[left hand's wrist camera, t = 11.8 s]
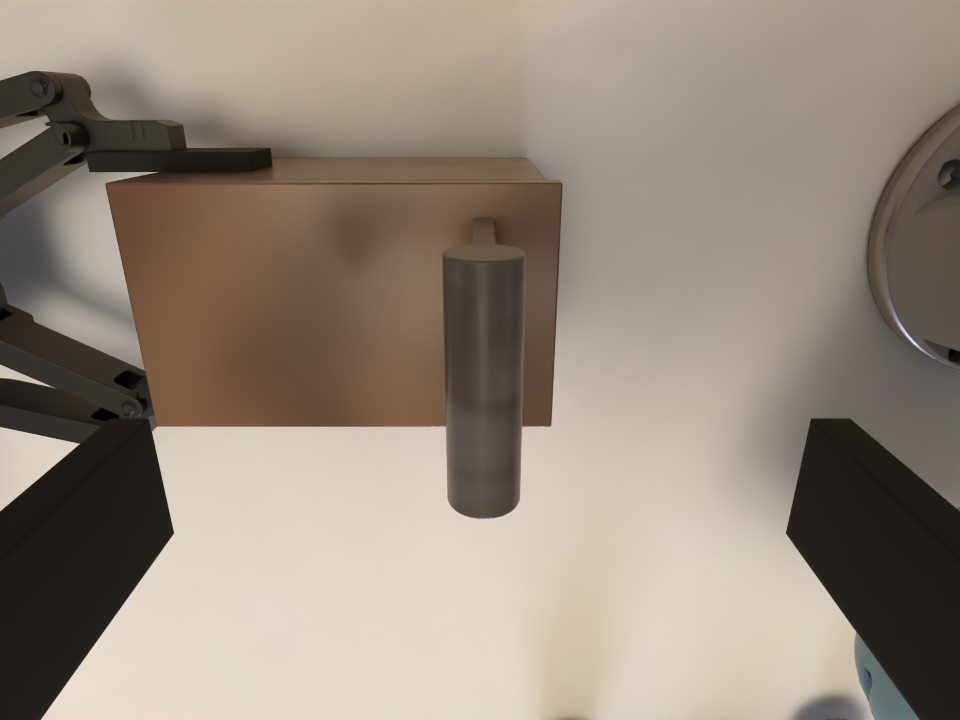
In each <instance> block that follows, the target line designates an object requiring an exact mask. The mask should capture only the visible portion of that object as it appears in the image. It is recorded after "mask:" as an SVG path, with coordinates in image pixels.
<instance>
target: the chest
mask: <svg viewBox="0 0 960 720" xmlns="http://www.w3.org/2000/svg"><path fill="white" fill-rule="evenodd" d="M272 165H273V166H269V167H266V168H262V169H258V170H255V171H163V172H158V173H153V174H148V175H143V176H138V177H133V178H128V179H123V180H546V179H545V178H544V176H543V175H542V174H541V173H540V172H539V171H538V170H537V169H536V168H535V166H534V165H533V164H532V163H531V162H530V161H529V160H528V159H527V158H272Z"/></svg>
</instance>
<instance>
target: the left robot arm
mask: <svg viewBox="0 0 960 720" xmlns="http://www.w3.org/2000/svg"><path fill="white" fill-rule="evenodd" d="M868 274H869V280H870V286H871V290H872V293H873V297H874V300H875V302H876V304H877V307H878V309H879V311H880V313H881V314H882V316H883V318H884V320H885V321H886V322H887V324H888V325H889V326H890V328H891V329H892V330H893V331H894V332H895V333H896V334H897V335H898V336H899V337H900V338H901V339H902V340H904V341H905V342H906V343H907V344H909V345H910V346H912V347H914V348H915V349H917V350H918V351H920V352H922V353H924V354H926V355H927V356H929V357H931V358H933V359H935V360H936V361H938V362H941V363H943V364H945V365H947V366H949V367H952V368H955V369H958V370H960V105H959V106H958V107H956V108H955V109H954V110H952V111H951V112H950V113H948V114H947V115H946V116H945V117H944V118H942V119H941V120H940V121H939V122H938V123H936V124H935V125H934V126H933V127H932V128H931V129H930V130H929V131H928V132H927V133H926V134H925V135H924V136H923V137H922V138H921V139H920V140H919V142H918V143H917V144H916V145H915V146H914V147H913V148H912V150H911V151H910V152H909V154H908V155H907V156H906V157H905V159H904V160H903V161H902V163H901V164H900V166H899V167H898V169H897V170H896V172H895V173H894V175H893V177H892V179H891V181H890V182H889V184H888V186H887V188H886V190H885V192H884V194H883V196H882V199H881V201H880V203H879V206H878V209H877V212H876V214H875V217H874V221H873V225H872V229H871V233H870V240H869V246H868ZM173 534H174V531H173V526H172V522H171V517H170V513H169V508H168V504H167V499H166V494H165V490H164V485H163V481H162V476H161V472H160V467H159V462H158V458H157V453H156V449H155V444H154V440H153V435H152V430H151V426H150V421H149V419H109V420H108V421H107V422H106V423H104V424H103V425H102V426H101V427H100V428H98V429H97V430H96V431H95V432H94V433H93V434H91V435H90V436H89V437H88V438H87V439H85V440H84V441H83V442H82V443H81V444H80V445H78V446H77V447H76V448H75V449H74V450H72V451H71V452H70V453H69V454H68V455H67V456H65V457H64V458H63V459H62V460H61V461H59V462H58V463H57V464H56V465H55V466H54V467H52V468H51V469H50V470H49V471H48V472H46V473H45V474H44V475H43V476H42V477H41V478H39V479H38V480H37V481H36V482H35V483H33V484H32V485H31V486H30V487H29V488H28V489H26V490H25V491H24V492H23V493H22V494H20V495H19V496H18V497H17V498H16V499H15V500H13V501H12V502H11V503H10V504H9V505H7V506H6V507H5V508H4V509H3V510H1V511H0V720H41V718H42V717H43V716H44V714H45V713H46V712H47V710H48V709H49V707H50V706H51V705H52V703H53V702H54V700H55V699H56V698H57V696H58V695H59V693H60V692H61V691H62V689H63V688H64V686H65V685H66V684H67V682H68V681H69V679H70V678H71V677H72V675H73V674H74V672H75V671H76V670H77V668H78V667H79V665H80V664H81V663H82V661H83V660H84V658H85V657H86V656H87V654H88V653H89V651H90V650H91V649H92V647H93V646H94V644H95V643H96V642H97V640H98V639H99V637H100V636H101V635H102V633H103V632H104V630H105V629H106V628H107V626H108V625H109V624H110V622H111V621H112V619H113V618H114V617H115V615H116V614H117V612H118V611H119V610H120V608H121V607H122V605H123V604H124V603H125V601H126V600H127V598H128V597H129V596H130V594H131V593H132V591H133V590H134V589H135V587H136V586H137V584H138V583H139V582H140V580H141V579H142V577H143V576H144V575H145V573H146V572H147V570H148V569H149V568H150V566H151V565H152V563H153V562H154V561H155V559H156V558H157V556H158V555H159V554H160V552H161V551H162V549H163V548H164V547H165V545H166V544H167V542H168V541H169V540H170V538H171V537H172V535H173ZM786 534H787V535H788V537H789V538H790V540H791V541H792V542H793V544H794V545H795V547H796V548H797V549H798V551H799V552H800V554H801V555H802V556H803V558H804V559H805V561H806V562H807V563H808V565H809V566H810V568H811V569H812V570H813V572H814V573H815V575H816V576H817V577H818V579H819V580H820V582H821V583H822V584H823V586H824V587H825V589H826V590H827V591H828V593H829V594H830V596H831V597H832V598H833V600H834V601H835V603H836V604H837V605H838V607H839V608H840V610H841V611H842V612H843V614H844V615H845V617H846V618H847V619H848V621H849V622H850V624H851V625H852V626H853V628H854V629H855V630H856V637H855V646H854V647H855V663H856V668H857V672H858V676H859V681H860V684H861V686H862V688H863V691H864V693H865V695H866V697H867V699H868V701H869V706H870V708H871V712H872V714H873V717H874V719H875V720H960V507H959V508H958V509H956V508H955V507H954V506H953V505H951V504H950V503H949V502H948V501H947V500H945V499H944V498H943V497H942V496H941V495H940V494H938V493H937V492H936V491H935V490H934V489H932V488H931V487H930V486H929V485H928V484H927V483H925V482H924V481H923V480H922V479H921V478H919V477H918V476H917V475H916V474H915V473H914V472H912V471H911V470H910V469H909V468H908V467H906V466H905V465H904V464H903V463H902V462H901V461H899V460H898V459H897V458H896V457H895V456H893V455H892V454H891V453H890V452H889V451H888V450H886V449H885V448H884V447H883V446H882V445H880V444H879V443H878V442H877V441H876V440H875V439H873V438H872V437H871V436H870V435H869V434H867V433H866V432H865V431H864V430H863V429H862V428H860V427H859V426H858V425H857V424H856V423H854V422H853V421H852V420H851V419H811V421H810V426H809V430H808V435H807V440H806V444H805V449H804V453H803V458H802V462H801V467H800V472H799V476H798V481H797V485H796V490H795V494H794V499H793V504H792V508H791V513H790V517H789V522H788V526H787V531H786Z"/></svg>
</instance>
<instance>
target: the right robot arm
mask: <svg viewBox="0 0 960 720" xmlns="http://www.w3.org/2000/svg"><path fill="white" fill-rule="evenodd" d="M90 98H91V89H90V86H89V84H88V83H87V81H86V80H85V79H84V78H83V77H81V76H79V75H76V74H67V73H56V72H43V71H31V72H28V73H24V74H21V75H18V76H14V77H11V78H7V79H4V80H1V81H0V128H3V127H7V126H10V125H14V124H17V123H21V122H24V121H28V120H31V119H35V118H38V117H42V116H45V115H47V116H48V118H49V120H50V122H47V123H45V125H46V126H51V127H50V128H48V129H47V130H45V131H44V132H42V133H41V134H39V135H38V136H36V137H34V138H33V139H31V140H30V141H28V142H27V143H25V144H24V145H22V146H21V147H19V148H18V149H16V150H14V151H13V152H11V153H10V154H8V155H7V156H5V157H4V158H2V159H1V160H0V220H1V219H3V218H4V217H5V214H6V213H8V212H9V211H11V210H12V209H14V208H16V207H17V206H19V205H20V204H22V203H23V202H25V201H27V200H28V199H30V198H31V197H33V196H35V195H36V194H38V193H39V192H41V191H43V190H44V189H46V188H47V187H49V186H51V185H52V184H54V183H55V182H57V181H59V180H60V179H62V178H63V177H65V176H66V175H68V174H70V173H71V172H73V171H74V170H76V169H78V168H79V167H81V166H82V165H84V164H86V163H87V162H88V167H89V171H90V172H163V171H255V170H258V169H262V168H266V167H269V166H273V165H272V157H271V148H187V147H186V141H185V135H184V129H183V125H181V124H179V123H176V122H174V121H171V120H110V119H108V118H105V117H104V116H102V115H101V114H100V113H99V112H98V111H97V110H96V108H95V107H94V105H93V103H92V102H91V100H90ZM0 364H1V365H3V366H5V367H8V368H10V369H12V370H15V371H17V372H19V373H22V374H24V375H26V376H29V377H31V378H33V379H36V380H38V381H40V382H43V383H45V384H47V385H50V386H52V387H54V388H52V387H47V386H43V385H38V384H33V383H29V382H24V381H20V380H14V379H5V378H0V427H3V428H8V429H13V430H18V431H22V432H27V433H32V434H37V435H42V436H46V437H51V438H56V439H61V440H65V441H70V442H75V443H80V444H81V443H82V442H83V441H84V440H85V439H87V438H88V437H89V436H90V435H91V434H93V433H94V432H95V431H96V430H97V429H98V428H100V427H101V426H102V425H103V424H104V423H106V422H107V421H108V420H109V419H149V421H150V426H151V430H152V431H153V430H154V429H155V428H156V427H157V424H156V419H155V414H154V410H153V405H152V400H151V396H150V391H149V386H148V382H147V377H146V372H145V371H144V370H141V369H139V368H137V367H135V366H132V365H130V364H128V363H126V362H123V361H121V360H119V359H117V358H114V357H112V356H110V355H107V354H105V353H103V352H101V351H98V350H96V349H94V348H92V347H89V346H87V345H85V344H83V343H80V342H78V341H76V340H74V339H71V338H69V337H67V336H64V335H62V334H60V333H58V332H55V331H53V330H51V329H49V328H46V327H44V326H42V325H40V324H37V323H35V322H34V321H33V316H32V315H30V314H29V313H26V312H24V311H22V310H20V309H17V308H15V307H13V306H11V305H8V304H7V300H6V296H5V293H4V289H3V287H2V285H1V283H0Z"/></svg>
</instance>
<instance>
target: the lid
mask: <svg viewBox="0 0 960 720" xmlns="http://www.w3.org/2000/svg"><path fill="white" fill-rule="evenodd" d="M106 190H107V194H108V199H109V204H110V208H111V213H112V218H113V223H114V227H115V232H116V237H117V241H118V246H119V251H120V255H121V260H122V265H123V269H124V274H125V279H126V283H127V288H128V293H129V297H130V302H131V307H132V311H133V316H134V321H135V326H136V330H137V335H138V340H139V344H140V349H141V354H142V358H143V363H144V368H145V372H146V377H147V382H148V386H149V391H150V396H151V400H152V405H153V410H154V414H155V419H156V424H157V426H215V427H446V445H447V488H448V501H449V503H450V505H451V507H452V508H453V509H454V510H455V511H457V512H458V513H460V514H462V515H465V516H468V517H471V518H478V519H490V518H496V517H500V516H503V515H506V514H508V513H510V512H511V511H512V510H514V509H515V508H516V506H517V505H518V503H519V500H520V475H521V438H522V427H550V426H551V421H552V400H553V378H554V357H555V335H556V314H557V293H558V271H559V250H560V228H561V207H562V183H561V182H560V181H559V180H118V181H113V182H109V183H106Z"/></svg>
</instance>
